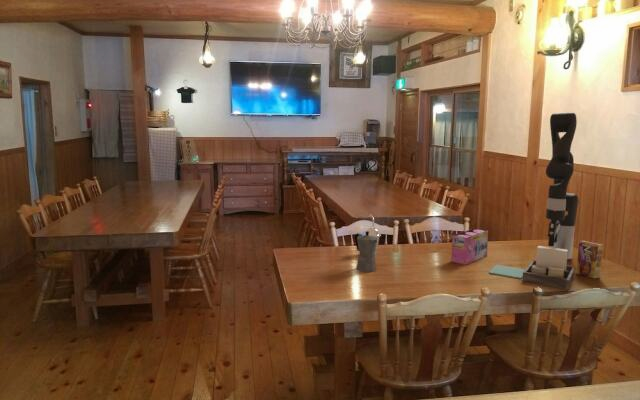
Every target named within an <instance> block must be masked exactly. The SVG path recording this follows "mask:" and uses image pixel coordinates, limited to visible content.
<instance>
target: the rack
mask: <svg viewBox="0 0 640 400" xmlns="http://www.w3.org/2000/svg"><path fill="white" fill-rule="evenodd" d="M533 265H535V266H536V259H533V261H531V262H530V263H529V264H528V266H527V267H526V268H525V270H524V272H523V277H522V279H521V280H522V282H525V283H532V284H537V285H538V284H539V285H543V286H548V287H554V288H560V289H565V290H569V288H570V286H571V285H572V282H573V279H574V276H575V268H573V266H572V265H568V264H567V265H566V270H564V278H558V277H552V276H548V272H549V268H547V274H546V275H541V274H535V273H531V269H532V266H533Z"/></svg>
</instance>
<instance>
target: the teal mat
mask: <svg viewBox="0 0 640 400" xmlns="http://www.w3.org/2000/svg"><path fill="white" fill-rule="evenodd" d="M525 269H526V268H525ZM525 269H524V268H519V267H513V266H506V265H502V264H496V265H494V266H493V267H492V268H491V269H490V270H489V271H488V274H489V275H490V274H491V275H497V276H501V277H505V278H506V277H507V278H513V279H519V280H523V272H524V270H525Z"/></svg>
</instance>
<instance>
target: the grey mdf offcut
mask: <svg viewBox="0 0 640 400" xmlns="http://www.w3.org/2000/svg"><path fill="white" fill-rule="evenodd" d="M531 273H535V274H541V275H546V274H547V267H542V266H535V265H533V266H532V269H531Z"/></svg>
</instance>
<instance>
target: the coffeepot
mask: <svg viewBox="0 0 640 400" xmlns="http://www.w3.org/2000/svg"><path fill="white" fill-rule="evenodd" d="M365 233H366V235H365V234H361V233H358V232H357V233H356V234H355V235H354V240H355V245H356V250H357V251H358V252H359V255H358V258H357V262H356V269H357V271H358V272H359V271H360V272H363V273H370V272H371V273H372V272H374V271H376V270H377V265H376V258H375V255H374V252H375V249H376V243H377V238H376V237H375V236H370V235H369V232H368V231H367V230H366V231H365Z"/></svg>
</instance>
